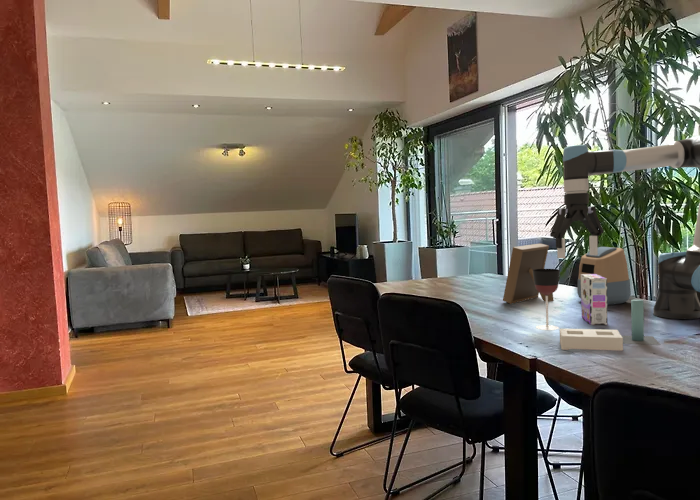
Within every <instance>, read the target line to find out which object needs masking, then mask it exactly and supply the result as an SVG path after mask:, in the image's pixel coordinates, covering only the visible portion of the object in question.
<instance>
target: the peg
mask: <svg viewBox="0 0 700 500" xmlns="http://www.w3.org/2000/svg"><path fill="white" fill-rule="evenodd" d="M630 304H631V306H630V307H631V315H630V317H631V336H632V340H634V341H644V335H645V325H644V323H645V322H644V320H645V319H644V318H645V317H644V300H643V299H631V300H630Z"/></svg>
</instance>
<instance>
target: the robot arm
mask: <svg viewBox="0 0 700 500" xmlns="http://www.w3.org/2000/svg"><path fill="white" fill-rule="evenodd" d="M562 165H563V191H564V193H565V194H564V195H563V201H564V202H563V203H564V205H565V207H559V208H557V214H556V217H555V220H554V223H553V226H552V228H551V231H550V234H549V236H550V237H552V238H553V239H555V248H556V249H557V251H556V253H557V254H556V255H557V259H566V240H565V239H566V238H565V237H564V236H565V234H566V233H567V231H569V230H568V229H569V228H570V226H571V225H572V223H574V222H576V221H577V222H582V224H583V225H584V226H585V228H586V229H587V231H588V233H590V235H589V237H588V239H589V241H588V242H589V243H588V244H589V251H590V255H598V246H599V236H601V235H602V234H603V233H604V227H603V226H602V223H601V222H600V220H599V219H600V218H599V217H598V215H597V214H598V213H597V209H596V206H588V204H589V202H590V197H589V196H590V194H589V192H588V191H589V189H590V188H589V187H590V186H589V177H591V176H600V175H605V174H606V175H607V174H615V173H616V174H617V173H622V172H631V171H633V172H634V171H639V170H640V171H641V170H648V169H656V168H665V167H671V168H673V169H680V168H681V169H684V168H699V171H700V134H698V135H694V136H692V137H689V138H685V139H681V140H674V141H671V142H670V143H669V144H665V145H663V144H662V145H655V146H648V147H646V146H645V147H639V148H631V149H623V150H622V149H605V150H604V149H602V150H589V148H588V145H587V144H574V145H568V146H565V147H564V148H563V153H562ZM695 222H696V224H695V229H694V237H693V242H692V243H693V244H692V245H691V246H690V247H689V248H687V249H686V251H676V252H675V251H673V252H663V253H660V254H659V255H658V258H657V259H658V262H657V265H658V267H657V268H658V295H657V297H656V300H655V303H654V305H653V310H652V311H653V315H654V316H656V317H660V318H665V319H672V320H673V319H675V320H676V319H677V320H692V319H694V320H695V319H700V300H699V297H698V295H697V292H698V293H700V203H699V205H698V212H697V219H696V221H695ZM563 237H564V238H563Z"/></svg>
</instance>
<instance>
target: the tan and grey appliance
mask: <svg viewBox="0 0 700 500" xmlns="http://www.w3.org/2000/svg"><path fill="white" fill-rule="evenodd" d="M597 248H598V255H590V250H589V251H587V253H585V254H584V255H583V254H582V256H581V258H580V261H579V269H578V279H577V292H576V293H577V296H578V298H579V299H580V300H581V274H597V275H600V276H602V277H604V278H607V306H609V304H612V305H621V304H625V303H626V302H628V300H630V297H631V295H632V293H631V279H630V277H629V276H630V275H629V271H628V270H629V269H628V261H627V258H626V255H625V250H624V248H621V247H612V246H611V247H609V246H599V247H598V246H597Z"/></svg>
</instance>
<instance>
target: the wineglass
mask: <svg viewBox="0 0 700 500" xmlns="http://www.w3.org/2000/svg"><path fill="white" fill-rule="evenodd" d="M533 278H534V284H535V287H536V289H537V290H538V291H539V292H540V293H542V294H544V295H545V296H546V301H545V324H543V325H536V327H535V328H536V329H538V330H542V331H555V330H560V327H559V326H557V325H552V324H551V325H549V301H548V295H550V294H552V293H555V292H556V291H557V290H558V288H559V284H560V269H556V268H544V269H535V270H533ZM540 293H539V294H540Z"/></svg>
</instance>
